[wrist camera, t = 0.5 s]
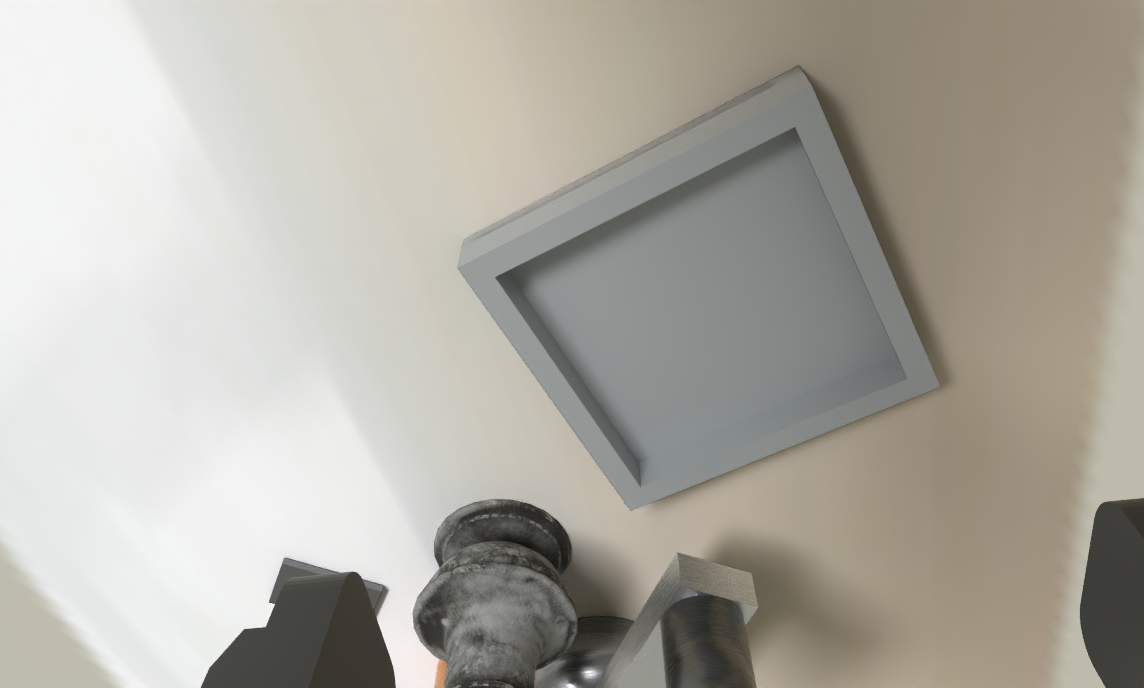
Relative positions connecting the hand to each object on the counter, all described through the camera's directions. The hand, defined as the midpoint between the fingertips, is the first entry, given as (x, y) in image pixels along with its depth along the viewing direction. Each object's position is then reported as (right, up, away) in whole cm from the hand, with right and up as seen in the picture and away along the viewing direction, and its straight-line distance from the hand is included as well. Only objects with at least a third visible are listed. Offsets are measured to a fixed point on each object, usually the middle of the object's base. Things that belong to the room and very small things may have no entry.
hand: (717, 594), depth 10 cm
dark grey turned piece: (-4, -5, +26) cm, 27 cm away
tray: (+3, +4, +19) cm, 20 cm away
